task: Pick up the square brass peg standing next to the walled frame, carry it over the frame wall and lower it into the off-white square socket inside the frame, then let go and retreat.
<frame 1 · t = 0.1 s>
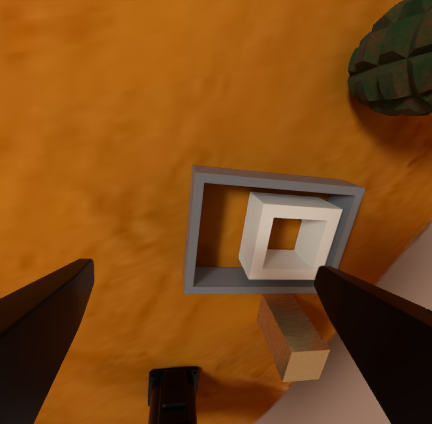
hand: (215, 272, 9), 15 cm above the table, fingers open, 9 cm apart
walled frame: (260, 227, 26), on the table
peg: (274, 306, 30), on the table
grenade: (362, 73, 22), on the table
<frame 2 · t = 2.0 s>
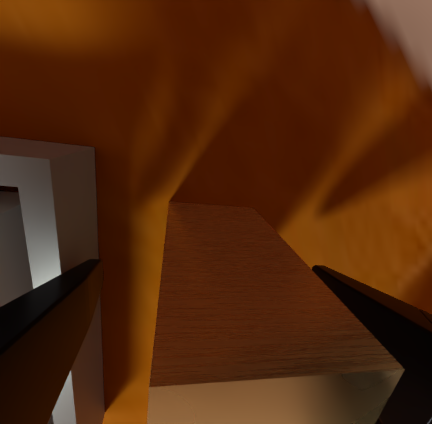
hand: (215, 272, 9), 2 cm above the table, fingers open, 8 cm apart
peg: (207, 243, 11), on the table
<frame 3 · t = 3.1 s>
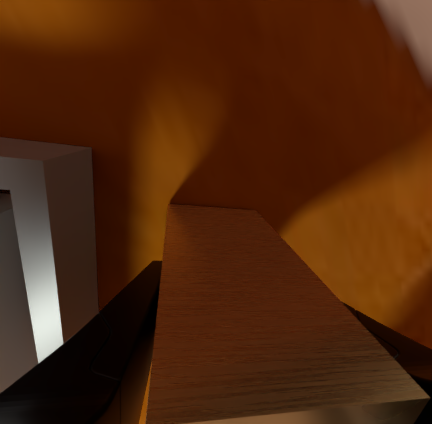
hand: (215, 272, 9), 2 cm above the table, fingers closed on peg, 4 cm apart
peg: (208, 246, 11), on the table, touching gripper
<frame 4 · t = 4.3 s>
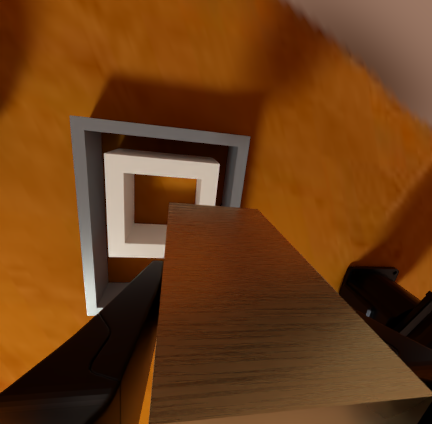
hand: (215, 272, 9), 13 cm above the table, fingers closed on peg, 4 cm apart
walled frame: (164, 217, 22), on the table
peg: (209, 245, 11), point 11 cm above the table, touching gripper
when the fingers open (4 cm above the table, at t = 6.0 s): peg drops 2 cm, resting in walled frame.
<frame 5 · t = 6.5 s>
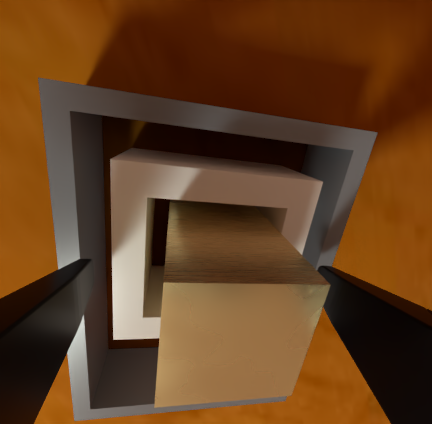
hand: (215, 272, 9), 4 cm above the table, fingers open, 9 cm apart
walled frame: (198, 256, 14), on the table
peg: (204, 224, 13), resting in walled frame
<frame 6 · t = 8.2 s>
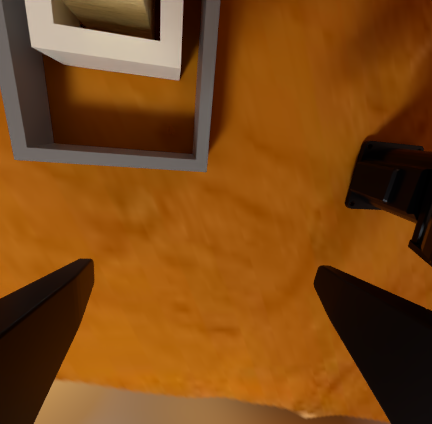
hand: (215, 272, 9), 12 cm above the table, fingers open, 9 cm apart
walled frame: (123, 41, 16), on the table
peg: (123, 5, 15), resting in walled frame
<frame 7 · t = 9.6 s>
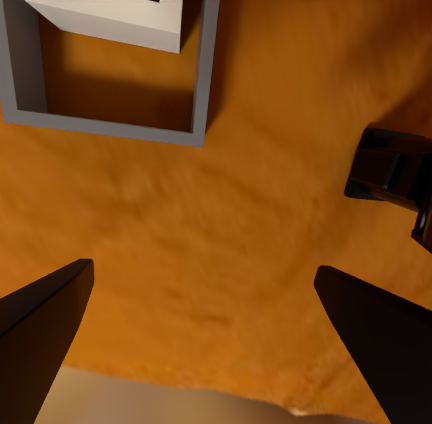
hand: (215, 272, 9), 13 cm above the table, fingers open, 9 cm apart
walled frame: (122, 9, 16), on the table
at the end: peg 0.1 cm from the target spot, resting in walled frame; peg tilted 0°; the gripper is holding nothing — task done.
